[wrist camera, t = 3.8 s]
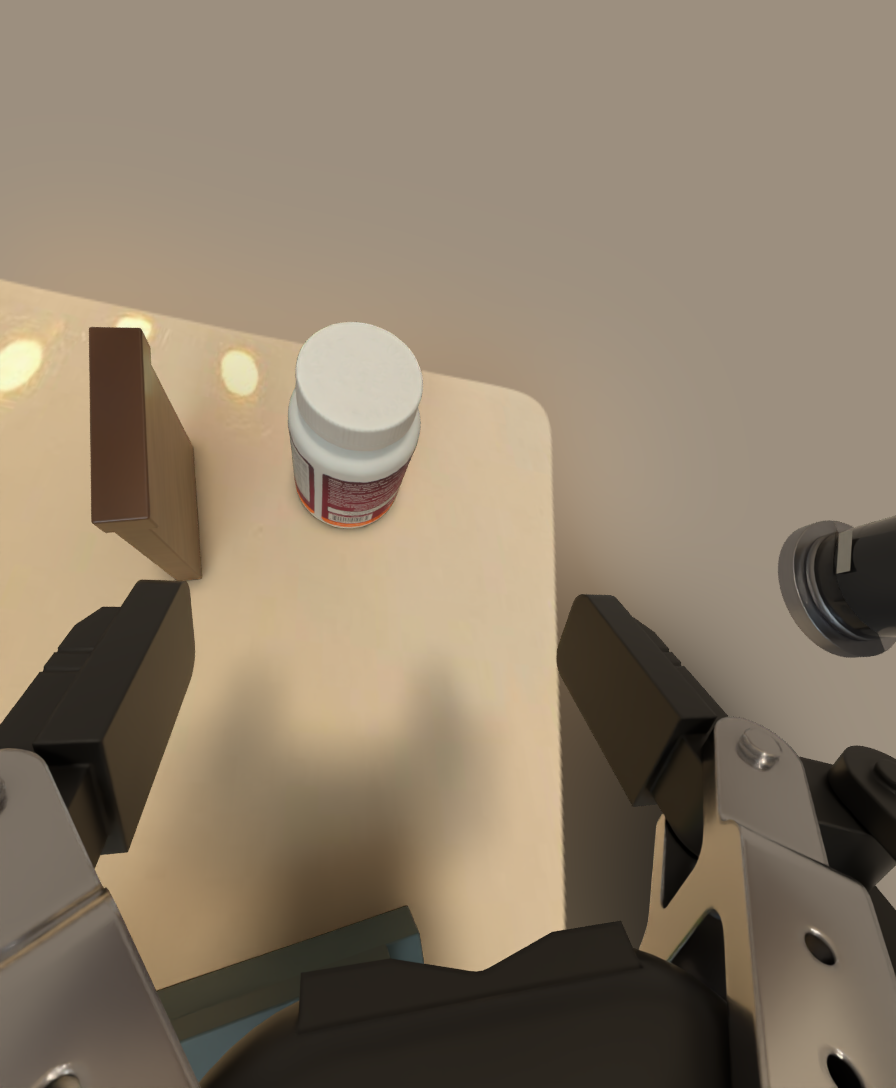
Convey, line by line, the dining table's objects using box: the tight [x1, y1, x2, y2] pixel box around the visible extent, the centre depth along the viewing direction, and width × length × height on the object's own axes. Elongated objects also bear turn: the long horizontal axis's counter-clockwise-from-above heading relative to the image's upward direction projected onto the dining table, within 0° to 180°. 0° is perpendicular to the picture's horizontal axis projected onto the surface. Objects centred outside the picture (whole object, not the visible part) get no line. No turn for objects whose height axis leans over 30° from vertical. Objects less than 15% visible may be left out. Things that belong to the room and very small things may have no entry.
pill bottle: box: [288, 322, 423, 528], centre depth 25 cm, size 6×6×11 cm
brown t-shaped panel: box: [89, 327, 202, 581], centre depth 22 cm, size 2×8×10 cm, turn 11°
